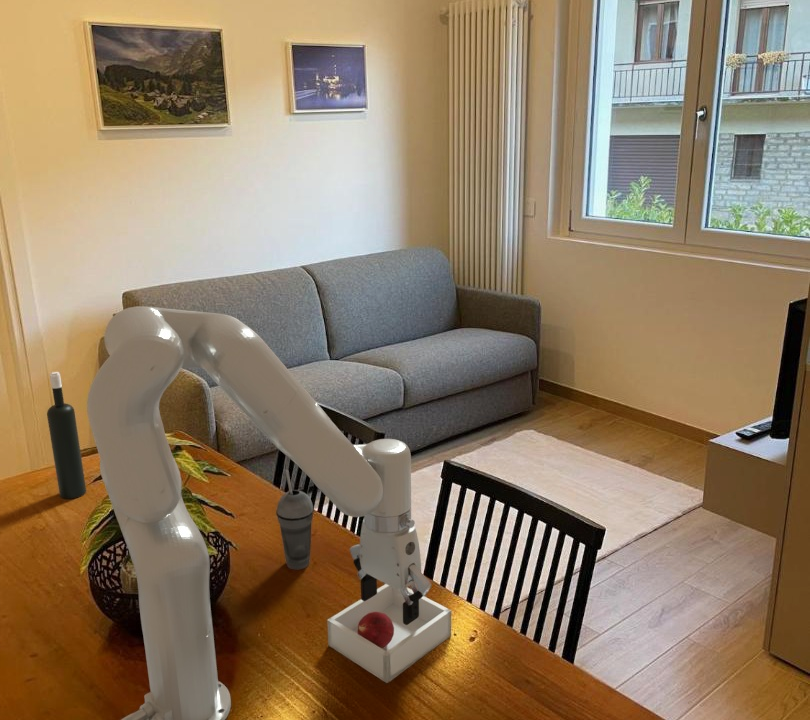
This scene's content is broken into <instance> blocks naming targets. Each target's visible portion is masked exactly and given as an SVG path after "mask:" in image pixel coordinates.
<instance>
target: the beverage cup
mask: <svg viewBox="0 0 810 720" xmlns="http://www.w3.org/2000/svg"><path fill="white" fill-rule="evenodd" d="M285 474H286V479H287V485H288V491H287V492H285V493H284V494H282V496H281V497H280V498H279V500H278V502H277V506H276V512H275V514H276V517H277V521H278V524H279V527H280V533H281V540H282V541H281V542H282V547H283V552H284V553H283V554H284V557H285V561H286V567H288V569H291V570H303V569H306V568H307V567H308V566H309V565H310V562H311V561H310V560H311V547H312V546H311V545H312V521H313V518H314V512H315V509H314V505H313V502H312V500H311V498H310V496H309V495H308V494H307V493H306V492H304V491H303V490H299V489H292V484H291V479H290V478H291V477H290V472H289V469H286V470H285Z"/></svg>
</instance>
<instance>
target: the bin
mask: <svg viewBox="0 0 810 720" xmlns="http://www.w3.org/2000/svg"><path fill="white" fill-rule="evenodd" d="M407 590H408V591H409V593H410V595H412V594H414V593H413V591H412V589H411V588H409V587H407ZM404 602H405V599H404V597H403V595H402V594H401V592H400V590H398V589H395V588H393V587H391V586H389V585H387V584H385V583H384V585H382V586H380V587H377V594H376V595H375V596H373V597H371V598H370V599H368V600H366V601H363V600H361V598H360V599H358V601H355V602H354V603H352V604H350V605H349V606H347V607H346V608H344V609H343V610H341V611H340V612H338V613H336V614H334V615H332V616H331V617H330V618H328V619H327V624H326V625H327V643H328V646H329V647H330V648H332V649H333V650H335V651H336V652H338V653H339V654H341V655H342V656H344V657H345V658H347V659H348V660H349V661H351V662H353V663H355V664H357V665H358V666H359V667H361V668H362V669H364V670H365V671H367V672H369V673H370V674H372V675H374V677H377V678H378V679H380V680H381V681H383V682H385V683H386V684H388V683H390V682H391V681H393V680H394V679H396V677H398V676H399V675H400V674H403V672H405V671H406V670H407V669H409V668H410V667H411V666H412V665H414V664H415V663H417V662H418V661H419V660H420V659H422V658H423V657H425V656H426V655H427V654H429V653H430V652H431V651H433V650H434V649H435V648H437V647H438V646H439V645H441V644H442V643H444V642H445V641H446V640H448V639H449V638H450V637H452V610H451V609H449V608H447V607H446V606H444V605H442V604H440V603H438V602H436V601H434V600H432V599H431V598H428V597H427V596H426V595H425V596H423V597H422V598H420V599H419V617H418V618H417V619H415V620H414V621H412V622H411V623H409V624H408V625H405V624H404V623H403V603H404ZM371 612H380V613H383V614H386V615H387V616H388V617H389V618H390V619H391V620H392V623H393V626H394V635H393V638H392V640H391V641H390V643H389V644H388V645H387V646H386V647H384V648H382V649H381V648H380V647H378V646H376V645H375V644H373V643H372V642H370V641H368V640H367V639H365V638H363V637H362V636H360V635H358V624H359V621H360V620H361V619H362V618H363V617H364V616H365V615H367V614H368V613H371Z"/></svg>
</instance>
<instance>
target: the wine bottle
mask: <svg viewBox="0 0 810 720" xmlns="http://www.w3.org/2000/svg"><path fill="white" fill-rule="evenodd" d="M49 378H50V385H51V387H50V388H51V391H52V395H53V396H52V397H53V401H54V404H53V405H51V406H50V407H49V408H48V410H47V411H46V416H47V417H46V418H47V422H48V423H47V424H48V428H49V435H50V441H51V448H52V455H53V461H54V467H55V473H56V480H57V486H58V491H59V498H61V499H64V500H73V499H77V498H79V497H82V496H84V495H85V494H86V493H87V488H86V480H85V473H84V467H83V461H82V460H83V459H82V453H81V448H80V441H79V433H78V428H77V427H78V426H77V420H76V411H75V409H74V407H73V406H72V405H71V404H69V403H66V402H64V401H65V400H64V395H63V394H64V393H63V389H62V387H63V386H62V379H61V373H60V371H51V373H50V374H49Z"/></svg>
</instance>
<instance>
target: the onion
mask: <svg viewBox="0 0 810 720" xmlns="http://www.w3.org/2000/svg"><path fill="white" fill-rule="evenodd" d="M358 635H360V636H362V637H363V638H365V639H367V640H368V641H370V642H372V643H373V644H375V645H376V646H378V647H380V648H381V649H382V648H384V647H386V646H387V645H388V644H389V643H390V641H391V640H392V638H393V635H394V626H393V623H392V620H391V619H390V618H389V617H388V616H387V615H386V614H383V613H380V612H371V613H368V614H367V615H365V616H364V617H363V618H362V619H361V620H360V621H359V624H358Z"/></svg>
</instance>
